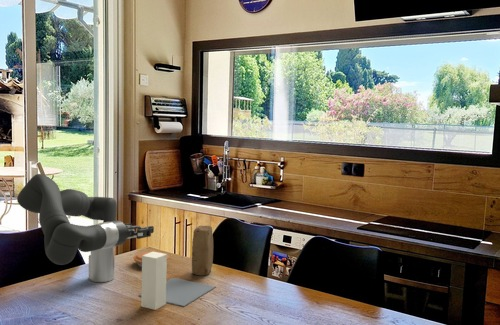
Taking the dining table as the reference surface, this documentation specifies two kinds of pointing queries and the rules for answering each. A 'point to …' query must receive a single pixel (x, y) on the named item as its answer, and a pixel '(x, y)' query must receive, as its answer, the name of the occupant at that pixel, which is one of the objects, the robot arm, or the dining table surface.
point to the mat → (184, 291)
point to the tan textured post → (202, 250)
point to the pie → (139, 257)
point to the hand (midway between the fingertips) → (141, 227)
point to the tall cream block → (154, 280)
